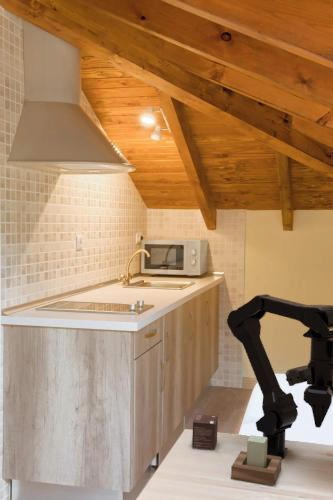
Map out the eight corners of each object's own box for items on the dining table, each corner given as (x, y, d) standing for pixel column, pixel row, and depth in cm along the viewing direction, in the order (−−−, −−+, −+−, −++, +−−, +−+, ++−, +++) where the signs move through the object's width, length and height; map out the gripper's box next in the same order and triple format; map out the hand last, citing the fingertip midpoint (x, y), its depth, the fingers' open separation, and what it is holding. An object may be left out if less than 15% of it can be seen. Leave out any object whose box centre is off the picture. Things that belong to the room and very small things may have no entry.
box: (195, 440, 169) (196, 413, 169) (217, 442, 168) (218, 415, 168) (191, 448, 164) (192, 421, 163) (214, 450, 162) (215, 423, 162)
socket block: (240, 462, 155) (241, 450, 155) (280, 469, 152) (281, 457, 151) (231, 478, 146) (231, 466, 145) (273, 486, 142) (274, 473, 142)
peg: (249, 467, 151) (250, 435, 151) (266, 469, 150) (267, 437, 149) (246, 473, 147) (247, 440, 147) (263, 476, 146) (264, 443, 145)
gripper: (294, 346, 162) (292, 405, 163) (282, 363, 144) (280, 429, 145) (338, 350, 158) (336, 411, 159) (332, 368, 140) (329, 435, 141)
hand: (319, 421), depth 151 cm, fingers open, 9 cm apart
